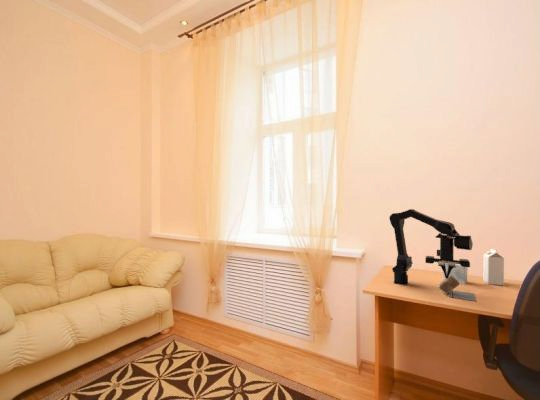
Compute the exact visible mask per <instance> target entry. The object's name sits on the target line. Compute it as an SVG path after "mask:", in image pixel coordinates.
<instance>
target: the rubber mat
mask: <svg viewBox="0 0 540 400" xmlns="http://www.w3.org/2000/svg"><path fill="white" fill-rule="evenodd" d="M451 293H452V297H453V299H458V300H463V301H464V300H465V301H470V302H475V303H476V302H477V298H476V296H475V293H473V292H468V291H467V292H466V291H460V290H454V289H453V290H452V291H451Z"/></svg>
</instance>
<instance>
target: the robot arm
mask: <svg viewBox="0 0 540 400" xmlns="http://www.w3.org/2000/svg"><path fill="white" fill-rule="evenodd" d="M410 218H413V219H414V220H418V221H419V222H422V223H424V224H425V225H428V226H430V227H432V228H433V229H434V230H436V231H437V232H439V233H438V234H437V235H436V236H435V239H439V249H436V257H439V258H436V257H435V256H433V255H426V256H425V264H434V263H437V264H438V266H439V267H440V268H441V270H442V271H443V276H444V275H445V277H446V278H447V279H448V277H449V274H450V272H451V270H452V269H453V268H456V266H455V265H456V264H460V265H461V266H462V267H467V268H470V267H471V262H470V260H469V259H465V258H459V260H458V259H455V258H454V256H455V255H454V252H455V251H454V249H455V248H456V249H457V250H465V251H471V250H472V249H473V246H474V244H473V240H472V235H460V233H459V232H458V231H457V230H456V227H455V225H454V224H453V222H450V221H446V220H442V219H441V220H440V219H436V218H434V217H432V216H429V215H427V214H424V213H422V212H420V211H418V210H415V209H414V208H410V209H407V210H404V211H402V212H393V213H391V214H390V216H389V222H390V224H391V226H392V229H393V230H394V235H395V236H394V237H395V245H396V250H397V256H396V257H397V258H396V265H395V266H394V267H392V272H393V275H394V276H393V284H397V285H405V286H407V285H408V282H409V275H408V273H407V272H408V271H409V269H411V267H412V265H413V264H414V263H413V259H412V258H413V257H412V256H411V255H409V254H408V253H407V252H408V250H407V245H406V240H405V239H406V238H405V233H404V227H405V220H407V219H410ZM454 247H455V248H454ZM445 263H449V264H448V270H447V274H446V268H445Z"/></svg>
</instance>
